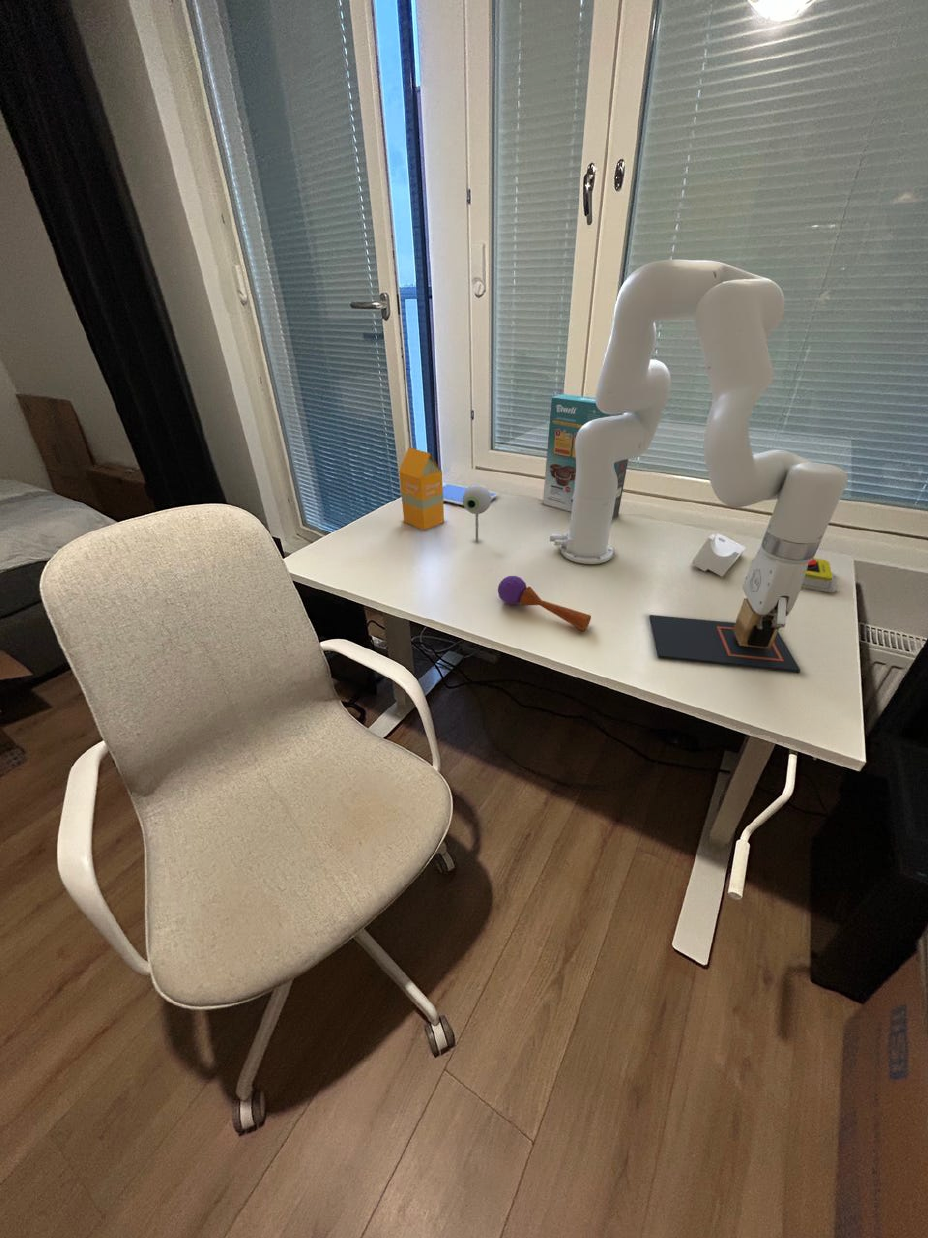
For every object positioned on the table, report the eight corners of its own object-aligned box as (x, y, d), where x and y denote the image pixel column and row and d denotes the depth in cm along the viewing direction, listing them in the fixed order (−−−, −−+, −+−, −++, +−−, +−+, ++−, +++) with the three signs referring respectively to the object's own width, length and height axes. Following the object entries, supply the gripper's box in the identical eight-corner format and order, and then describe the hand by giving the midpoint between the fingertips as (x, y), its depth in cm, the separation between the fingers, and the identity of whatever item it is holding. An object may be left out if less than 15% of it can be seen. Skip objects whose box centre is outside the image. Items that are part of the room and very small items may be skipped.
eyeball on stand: (459, 545, 124) (457, 488, 115) (469, 533, 129) (468, 479, 121) (484, 549, 122) (485, 491, 113) (494, 537, 127) (495, 482, 118)
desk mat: (658, 658, 85) (659, 655, 85) (649, 617, 96) (650, 614, 96) (799, 673, 82) (800, 669, 81) (774, 628, 92) (775, 625, 92)
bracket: (719, 579, 109) (738, 553, 104) (691, 563, 112) (708, 537, 107) (737, 559, 117) (756, 534, 112) (710, 544, 120) (727, 519, 115)
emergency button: (844, 575, 100) (763, 560, 105) (835, 593, 102) (756, 578, 108) (839, 556, 106) (763, 544, 112) (831, 574, 109) (757, 560, 115)
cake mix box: (618, 515, 138) (638, 403, 121) (608, 522, 134) (627, 407, 117) (553, 498, 150) (563, 393, 133) (542, 503, 146) (551, 397, 129)
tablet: (425, 498, 151) (425, 494, 150) (447, 486, 160) (447, 482, 159) (477, 510, 142) (477, 506, 142) (498, 497, 151) (498, 493, 150)
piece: (739, 645, 85) (755, 607, 81) (732, 629, 89) (746, 592, 85) (770, 648, 85) (787, 610, 80) (761, 632, 89) (777, 594, 84)
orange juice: (423, 513, 141) (419, 444, 130) (444, 522, 136) (441, 450, 124) (403, 521, 136) (396, 450, 125) (424, 530, 131) (419, 456, 120)
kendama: (581, 622, 88) (492, 582, 97) (577, 643, 92) (492, 603, 101) (596, 603, 91) (508, 566, 100) (592, 624, 95) (508, 587, 105)
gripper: (748, 521, 84) (718, 608, 94) (782, 567, 70) (742, 663, 80) (795, 524, 82) (759, 611, 93) (839, 572, 69) (791, 668, 79)
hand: (752, 634), depth 86 cm, fingers closed on piece, 5 cm apart
